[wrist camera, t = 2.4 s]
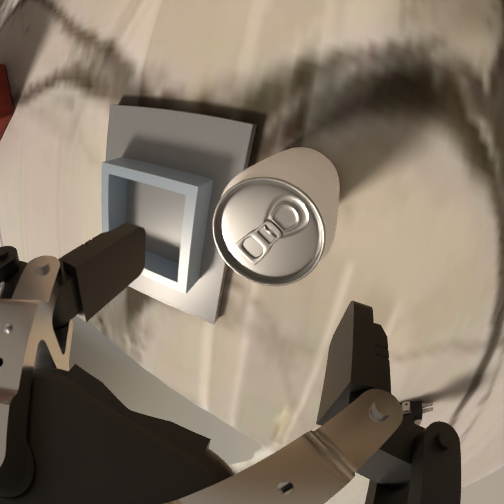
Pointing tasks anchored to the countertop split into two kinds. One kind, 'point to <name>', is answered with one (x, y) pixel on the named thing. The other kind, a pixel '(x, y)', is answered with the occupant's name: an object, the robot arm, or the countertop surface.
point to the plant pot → (4, 101)
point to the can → (278, 217)
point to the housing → (173, 197)
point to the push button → (415, 410)
